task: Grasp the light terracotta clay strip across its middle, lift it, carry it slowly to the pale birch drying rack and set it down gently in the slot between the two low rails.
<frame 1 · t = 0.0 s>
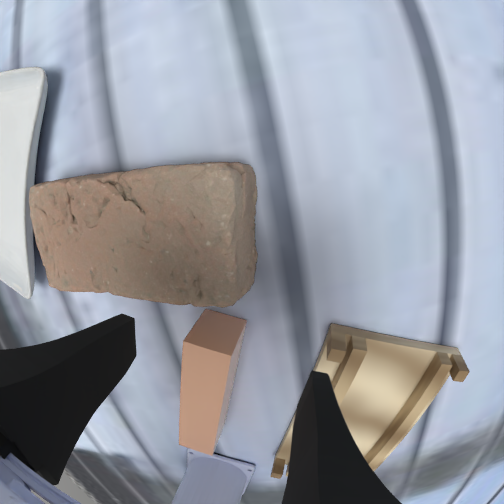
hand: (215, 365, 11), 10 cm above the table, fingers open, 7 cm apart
brick: (147, 221, 22), on the table
clay strip: (216, 373, 25), on the table
rack: (357, 415, 23), on the table
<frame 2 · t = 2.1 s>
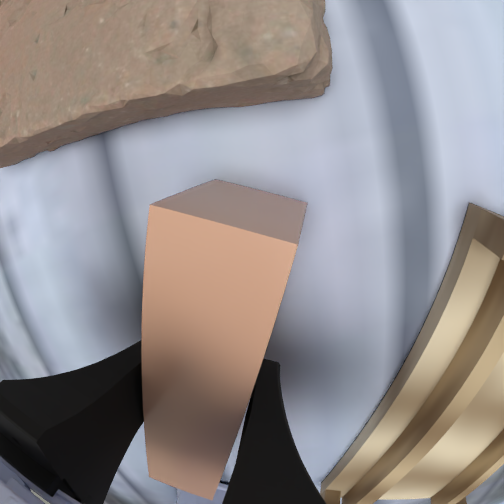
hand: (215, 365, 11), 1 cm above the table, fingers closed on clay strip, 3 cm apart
brick: (116, 40, 10), on the table
clay strip: (226, 342, 13), on the table, touching gripper
rack: (472, 405, 11), on the table
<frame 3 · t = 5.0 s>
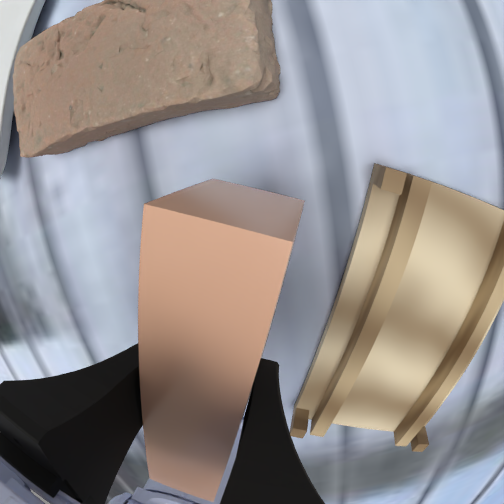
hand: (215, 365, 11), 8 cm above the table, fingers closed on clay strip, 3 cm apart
brick: (145, 66, 16), on the table
clay strip: (225, 343, 13), point 6 cm above the table, touching gripper
rack: (410, 329, 17), on the table
when the fingers open (4 cm above the table, at t = 7.8 s): clay strip drops 1 cm, resting on rack.
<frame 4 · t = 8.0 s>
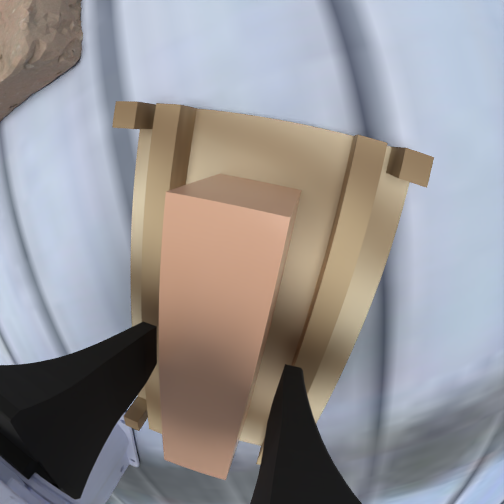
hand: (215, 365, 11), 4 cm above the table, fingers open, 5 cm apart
brick: (9, 67, 13), on the table
clay strip: (234, 324, 14), point 1 cm above the table, touching rack
rack: (240, 314, 15), on the table
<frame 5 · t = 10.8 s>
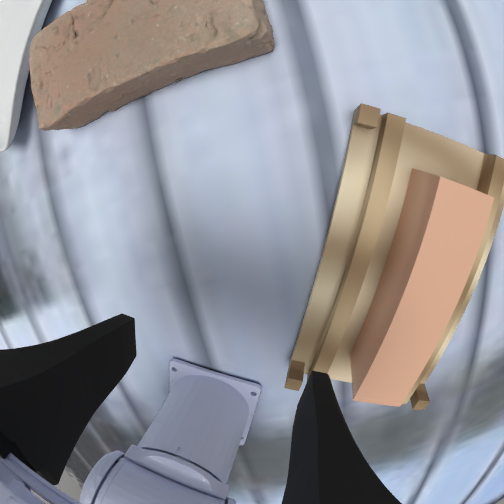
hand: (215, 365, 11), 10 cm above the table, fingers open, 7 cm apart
brick: (152, 41, 17), on the table
clay strip: (405, 277, 18), point 1 cm above the table, touching rack
salad plate: (4, 49, 19), on the table
rack: (401, 272, 18), on the table
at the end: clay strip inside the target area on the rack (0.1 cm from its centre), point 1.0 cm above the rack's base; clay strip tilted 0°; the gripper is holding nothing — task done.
